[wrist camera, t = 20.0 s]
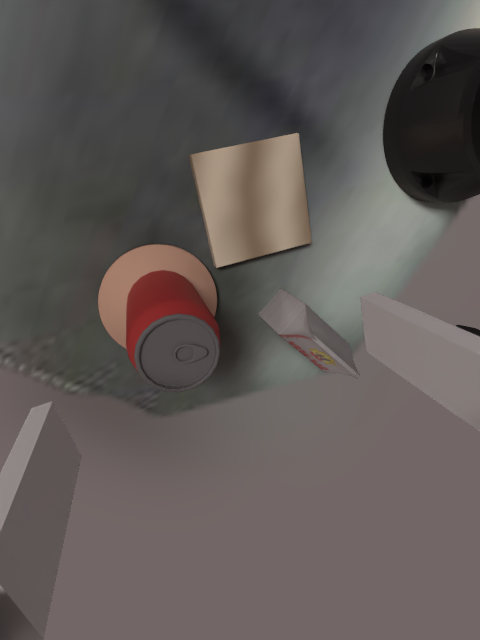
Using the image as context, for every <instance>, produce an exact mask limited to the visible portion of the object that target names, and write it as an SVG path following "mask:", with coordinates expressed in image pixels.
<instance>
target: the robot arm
mask: <svg viewBox="0 0 480 640" xmlns="http://www.w3.org/2000/svg"><path fill="white" fill-rule="evenodd" d="M384 149H385V155H386V159H387V163H388V166H389V168H390V171H391V173H392V175H393V177H394V179H395V180H396V182H397V183H398V184H399V186H400V187H401V188H402V189H403V190H404V191H405V192H406V193H408V194H409V195H411V196H412V197H414V198H416V199H419V200H422V201H426V202H443V203H448V202H457V201H461V200H465V199H468V198H470V197H473V196H476V195H478V194H480V28H473V29H466V30H462V31H458V32H455V33H453V34H450V35H448V36H446V37H444V38H442V39H440V40H438V41H435V42H433V43H432V44H430V45H428V46H427V47H425V48H424V49H422V50H421V51H420V52H419V53H418V54H417V55H415V57H414V58H413V59H412V60H411V61H410V62H409V63H408V64H407V66H406V67H405V68H404V70H403V71H402V73H401V75H400V76H399V78H398V80H397V82H396V84H395V86H394V88H393V90H392V93H391V96H390V98H389V102H388V105H387V109H386V114H385V120H384ZM360 299H361V308H362V317H363V326H364V335H365V344H366V352H367V353H369V354H370V355H372V356H373V357H374V358H376V359H377V360H379V361H380V362H381V363H383V364H384V365H386V366H387V367H389V368H390V369H391V370H393V371H394V372H396V373H397V374H398V375H400V376H401V377H403V378H404V379H405V380H407V381H408V382H410V383H411V384H413V385H414V386H415V387H417V388H418V389H420V390H421V391H422V392H424V393H425V394H427V395H428V396H430V397H431V398H432V399H434V400H435V401H437V402H438V403H439V404H441V405H442V406H444V407H445V408H447V409H448V410H449V411H451V412H452V413H454V414H455V415H456V416H458V417H459V418H461V419H462V420H464V421H465V422H467V423H468V424H469V425H471V426H472V427H474V428H475V429H476V430H478V431H479V432H480V330H478V329H476V328H471V327H466V326H461V325H456V326H453V325H451V324H449V323H447V322H444V321H442V320H440V319H437V318H435V317H433V316H430V315H428V314H426V313H423V312H421V311H419V310H416V309H414V308H412V307H409V306H407V305H405V304H402V303H400V302H398V301H395V300H393V299H391V298H388V297H386V296H384V295H381V294H379V293H377V292H375V293H372V294H369V295H366V296H363V297H360ZM80 461H81V454H80V452H79V450H78V448H77V446H76V444H75V442H74V441H73V439H72V437H71V435H70V433H69V431H68V429H67V428H66V425H65V424H64V422H63V420H62V418H61V416H60V414H59V412H58V410H57V409H56V407H55V405H54V403H53V402H52V401H51V402H48V403H46V404H42V405H40V406H37V407H34V408H32V409H31V411H30V413H29V415H28V417H27V419H26V421H25V423H24V425H23V427H22V430H21V431H20V433H19V436H18V438H17V440H16V442H15V444H14V446H13V448H12V450H11V452H10V454H9V456H8V458H7V460H6V463H5V465H4V467H3V469H2V471H1V473H0V640H43V639H44V633H45V629H46V625H47V620H48V615H49V610H50V605H51V601H52V595H53V591H54V586H55V581H56V576H57V572H58V566H59V562H60V557H61V552H62V548H63V543H64V538H65V533H66V528H67V523H68V519H69V513H70V509H71V504H72V499H73V495H74V490H75V485H76V480H77V475H78V470H79V466H80Z"/></svg>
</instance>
